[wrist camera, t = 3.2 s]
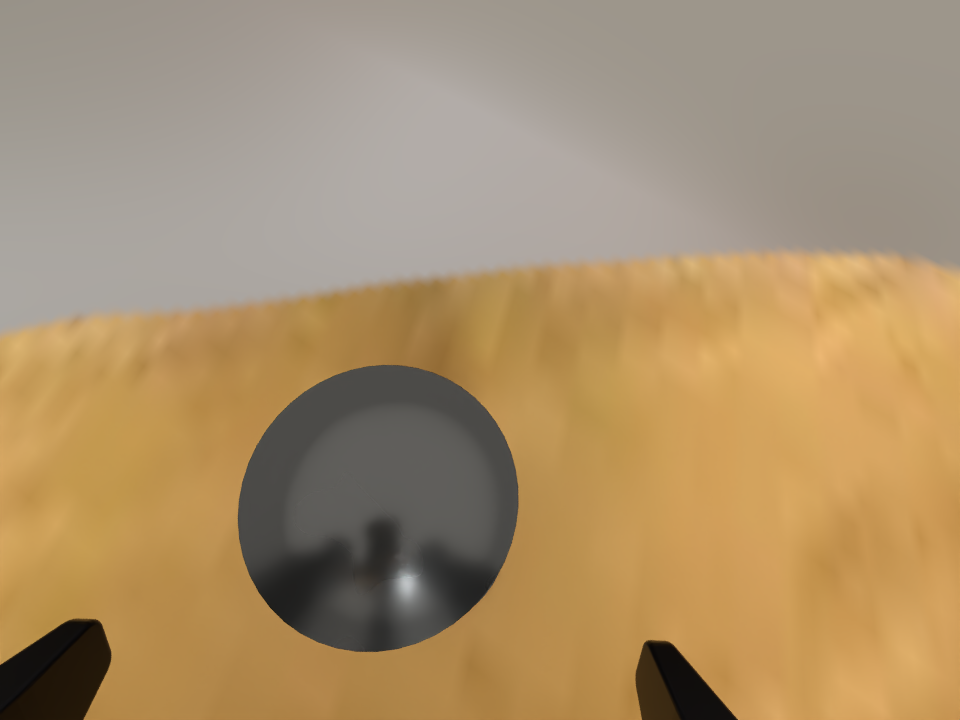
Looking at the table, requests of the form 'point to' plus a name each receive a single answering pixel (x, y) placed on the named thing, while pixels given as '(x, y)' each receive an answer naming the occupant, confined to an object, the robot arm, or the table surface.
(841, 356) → the table surface
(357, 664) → the table surface
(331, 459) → the grey metal post
